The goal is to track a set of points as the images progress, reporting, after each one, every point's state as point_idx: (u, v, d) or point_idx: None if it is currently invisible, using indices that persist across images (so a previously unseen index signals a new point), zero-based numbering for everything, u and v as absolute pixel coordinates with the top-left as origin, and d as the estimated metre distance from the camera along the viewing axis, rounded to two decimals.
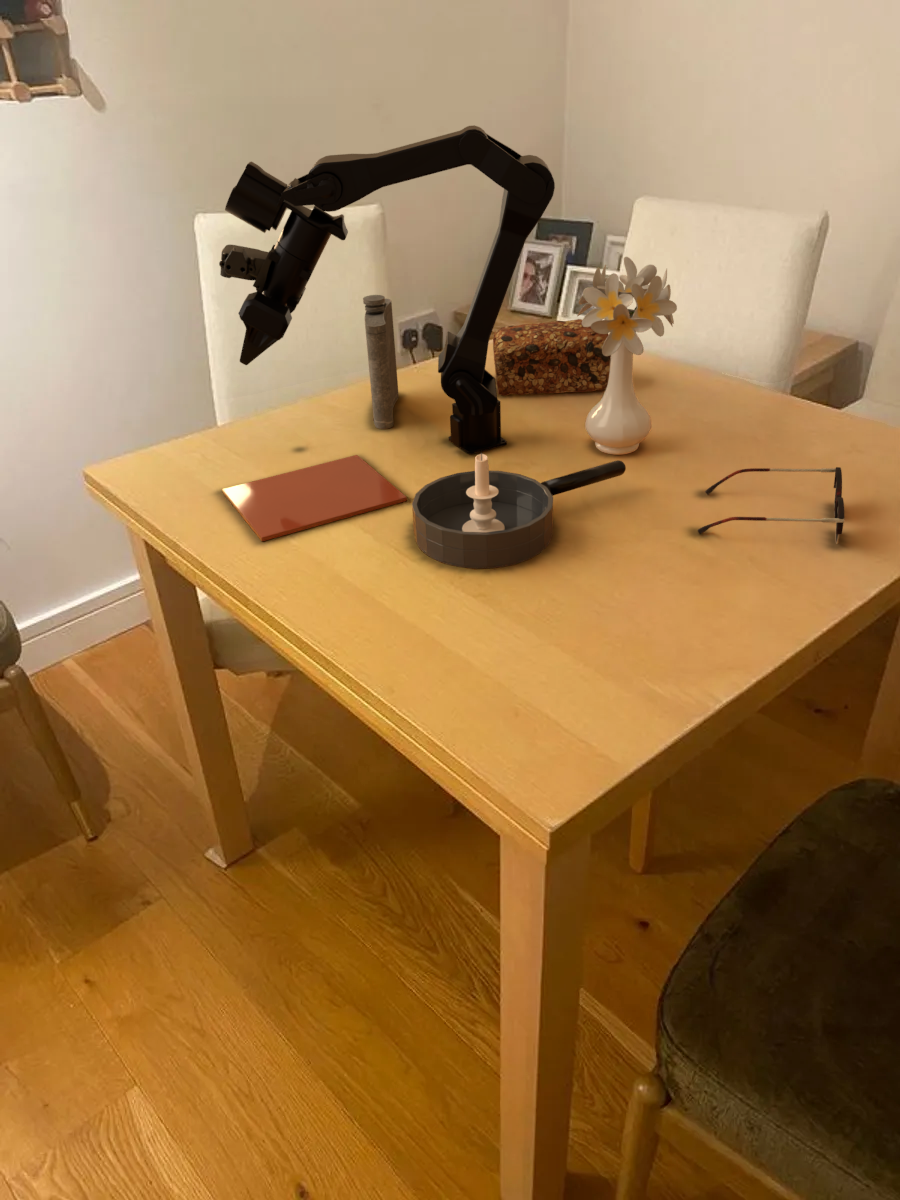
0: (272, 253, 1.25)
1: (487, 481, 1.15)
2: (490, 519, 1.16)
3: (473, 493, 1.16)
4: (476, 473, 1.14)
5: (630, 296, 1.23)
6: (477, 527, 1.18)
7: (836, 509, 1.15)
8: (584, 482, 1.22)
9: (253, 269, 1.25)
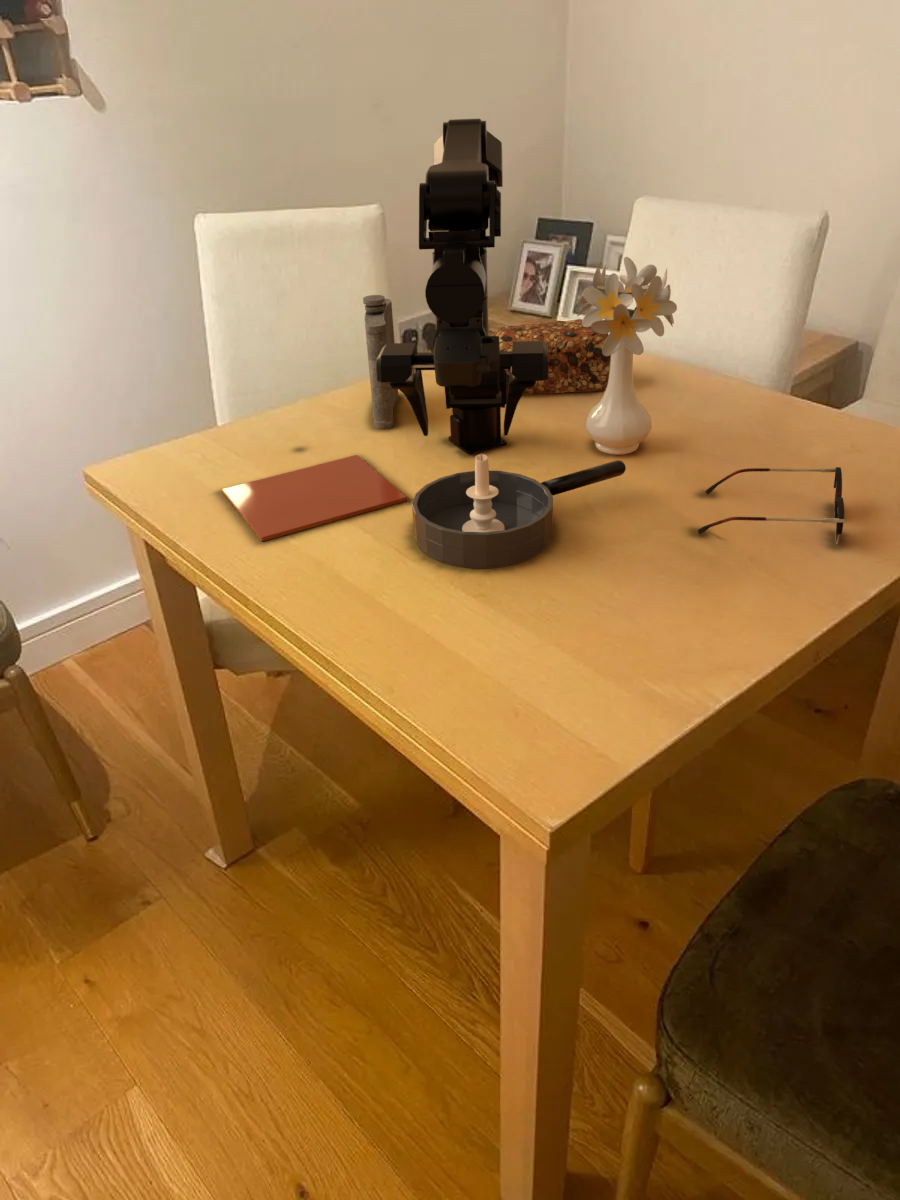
0: (482, 314, 1.02)
1: (487, 481, 1.15)
2: (490, 519, 1.16)
3: (473, 493, 1.16)
4: (476, 473, 1.14)
5: (630, 296, 1.23)
6: (477, 527, 1.18)
7: (836, 509, 1.15)
8: (584, 482, 1.22)
9: None
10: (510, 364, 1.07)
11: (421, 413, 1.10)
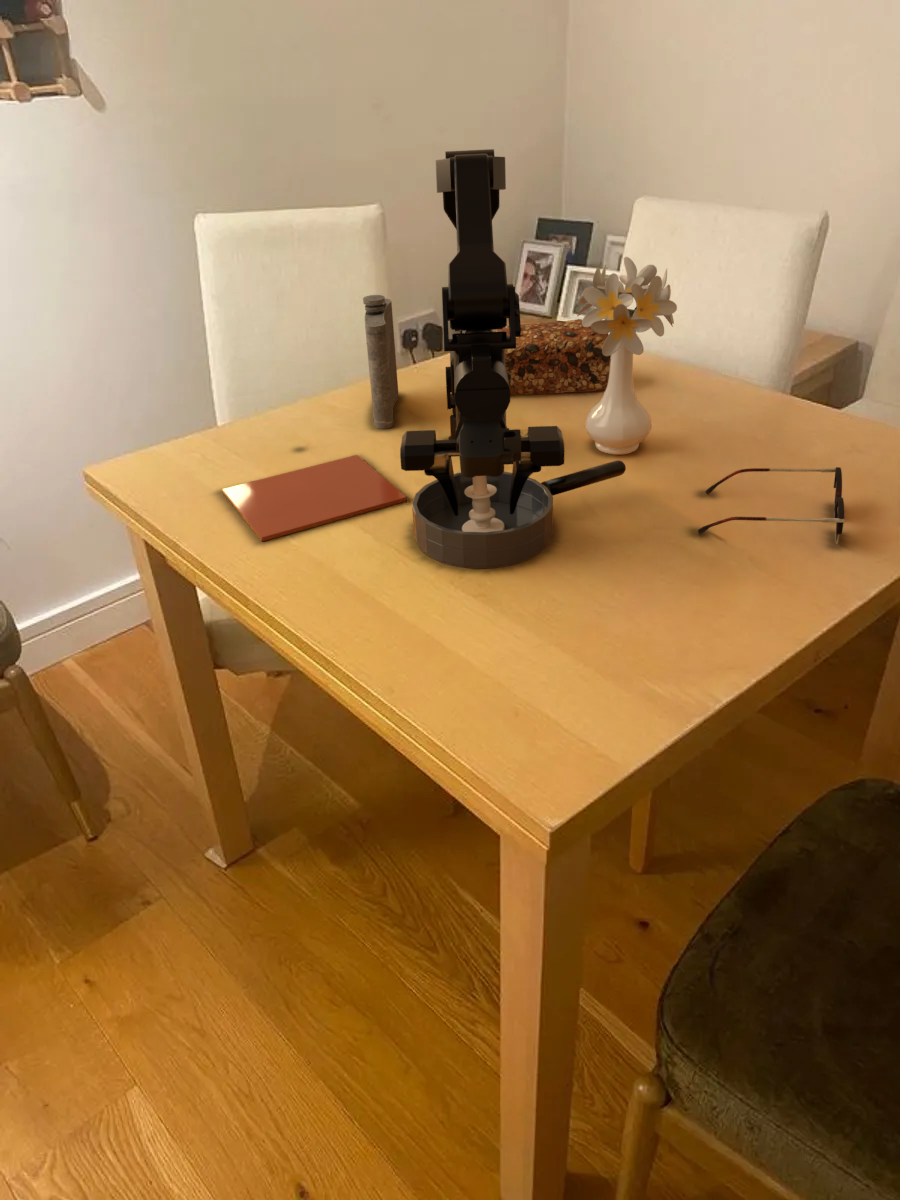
0: None
1: (484, 480, 1.15)
2: (489, 518, 1.16)
3: (471, 492, 1.16)
4: None
5: (630, 296, 1.23)
6: (477, 526, 1.18)
7: (836, 509, 1.15)
8: (584, 482, 1.22)
9: None
10: None
11: (453, 496, 1.15)
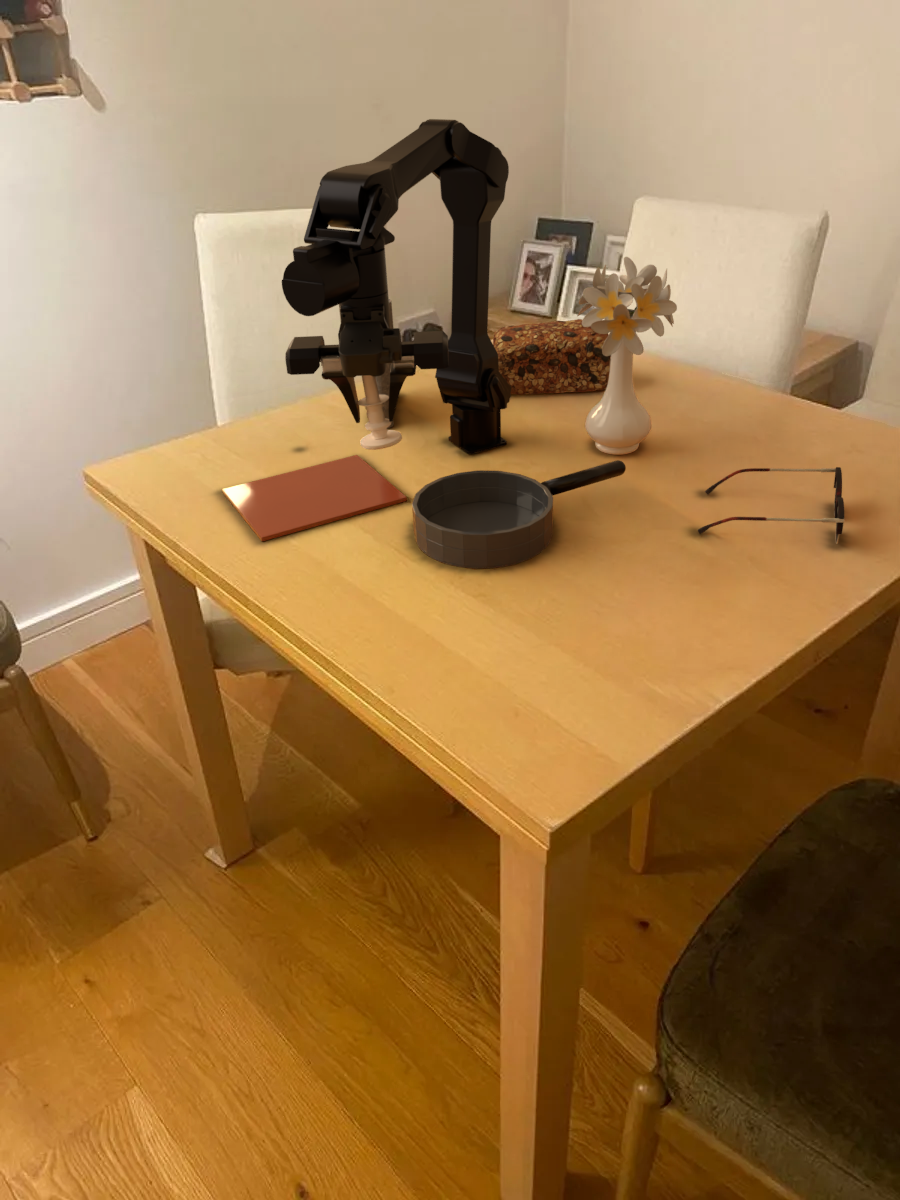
0: (383, 307, 1.08)
1: (375, 388, 1.16)
2: (384, 426, 1.17)
3: (364, 402, 1.17)
4: (363, 380, 1.15)
5: (630, 296, 1.23)
6: (374, 437, 1.19)
7: (836, 509, 1.15)
8: (584, 482, 1.22)
9: None
10: None
11: (353, 401, 1.16)
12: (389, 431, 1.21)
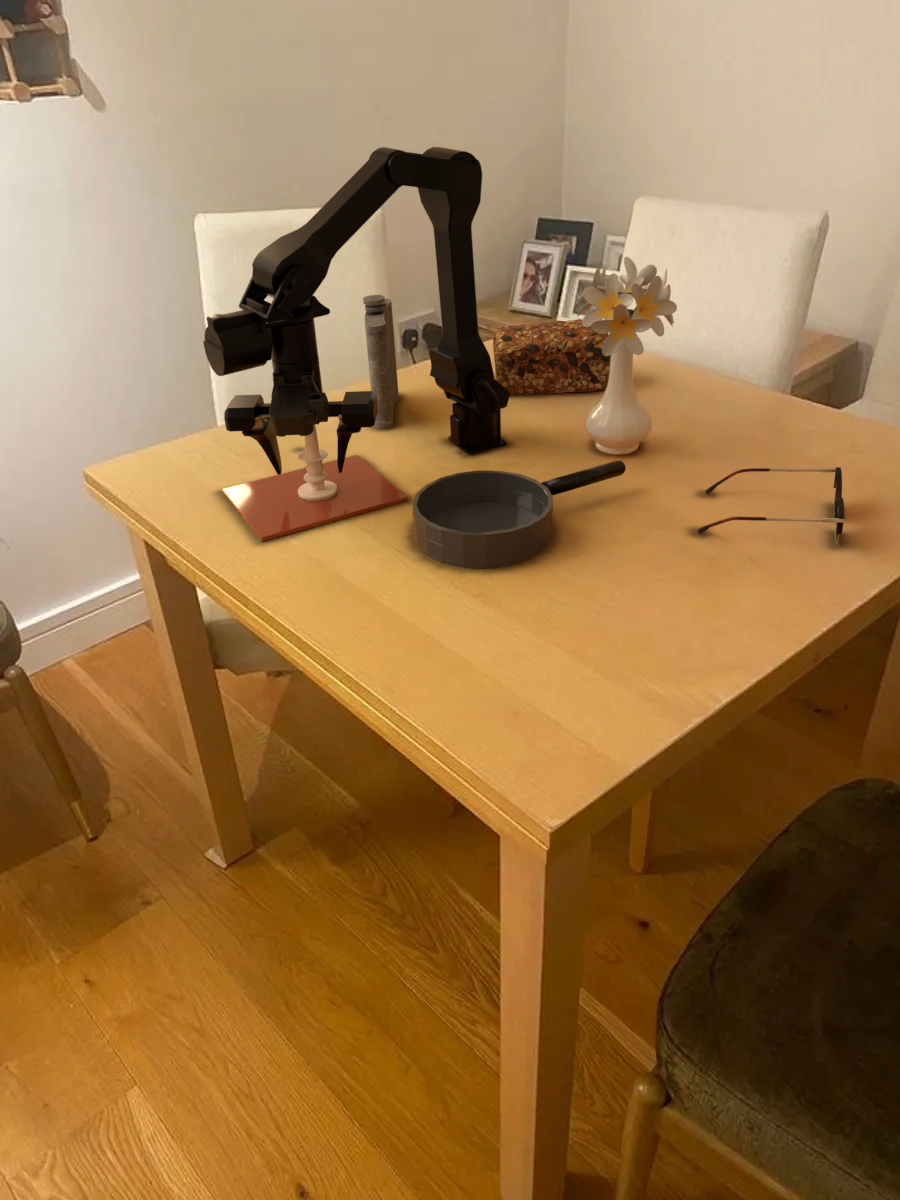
0: (312, 372, 1.17)
1: (316, 445, 1.25)
2: (321, 480, 1.27)
3: (305, 456, 1.26)
4: (305, 437, 1.24)
5: (630, 296, 1.23)
6: (311, 488, 1.28)
7: (836, 509, 1.15)
8: (584, 482, 1.22)
9: None
10: (338, 412, 1.22)
11: (273, 455, 1.25)
12: (326, 482, 1.30)
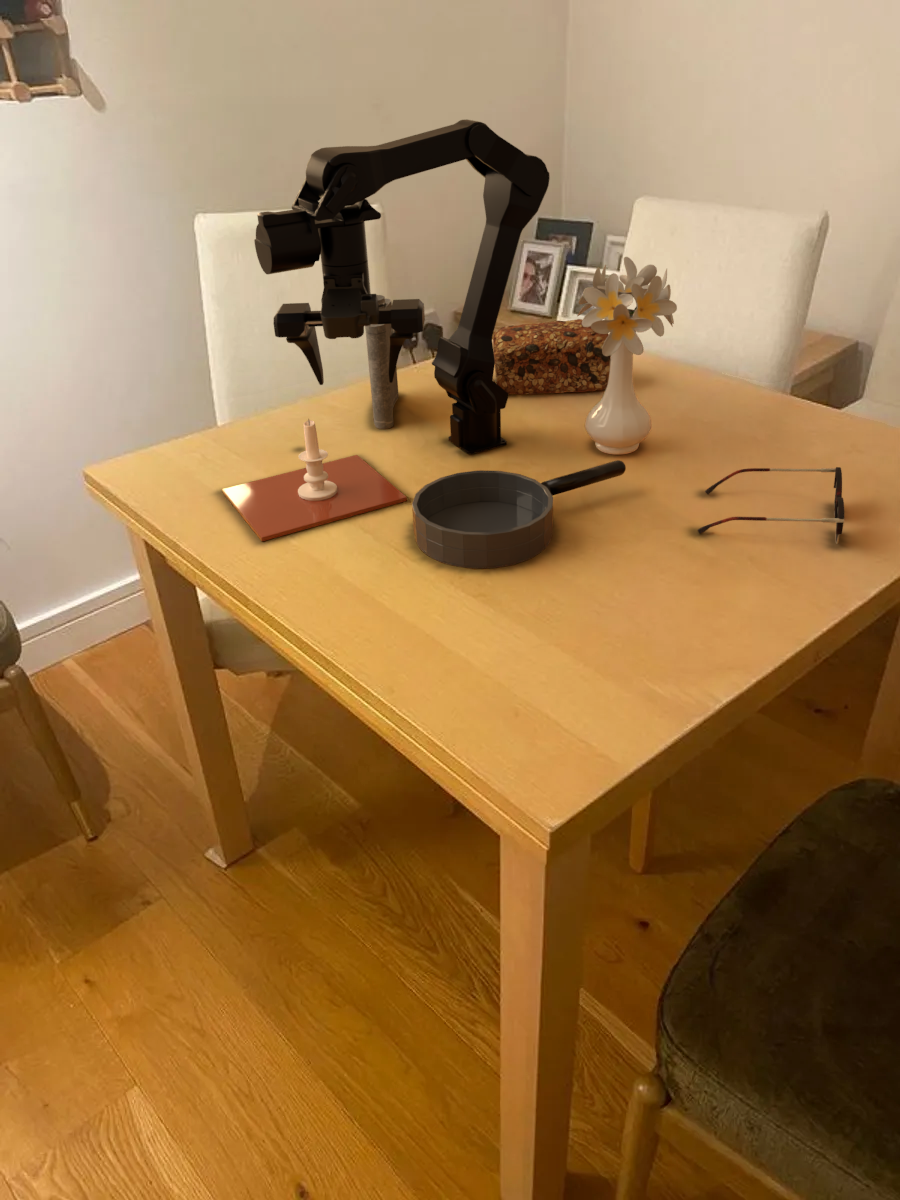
0: (362, 275, 1.18)
1: (316, 445, 1.25)
2: (321, 480, 1.27)
3: (305, 456, 1.26)
4: (305, 437, 1.24)
5: (630, 296, 1.23)
6: (311, 488, 1.28)
7: (836, 509, 1.15)
8: (584, 482, 1.22)
9: None
10: (390, 319, 1.23)
11: (316, 364, 1.26)
12: (326, 482, 1.30)
